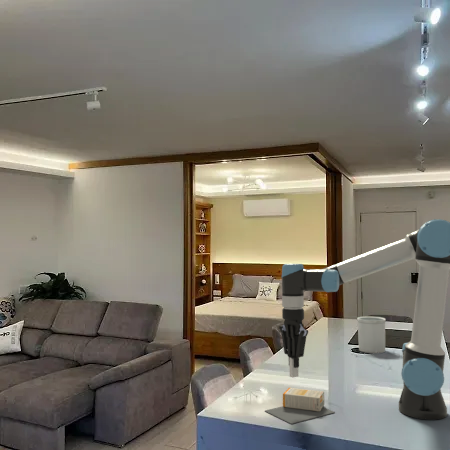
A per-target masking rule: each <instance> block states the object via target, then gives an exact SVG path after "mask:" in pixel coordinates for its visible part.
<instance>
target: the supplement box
mask: <svg viewBox="0 0 450 450" xmlns="http://www.w3.org/2000/svg"><path fill="white" fill-rule="evenodd" d="M282 406H283V407H289V408H297V409H304V410H312V411H321V409H322V407H324V406H325V391H324V390H323V391H321V390H313V389H306V388H305V389H304V388H297V387H295V388H294V387H288V388H286V390H285V391H284V392H283V393H282Z"/></svg>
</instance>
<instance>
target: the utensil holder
mask: <svg viewBox="0 0 450 450" xmlns="http://www.w3.org/2000/svg"><path fill="white" fill-rule="evenodd" d="M356 319H357V332H358V333H357V335H358V336H357V337H358V338H357V339H358V350H359V352H362V353H366V354H367V353H368V354H382V353H385V352H386V318H385V317H381V316H368V315H367V316H359V317H357V318H356Z"/></svg>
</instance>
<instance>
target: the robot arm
mask: <svg viewBox="0 0 450 450" xmlns="http://www.w3.org/2000/svg"><path fill="white" fill-rule="evenodd" d="M411 260H412V261H413V260H414V261H415V262H416V263H417V264H418V266H419V268H418V269H419V270H418V278H417V287H416V294H415V302H414V311H413V321H412V330H411V338H410V341H408V342H404V343H403V344H402V349H401V352H402V368H401V379H402V381H403V388H402V391H401V394H400V397H399V401H398V411H399V412H400V413H402V414H403V415H405V416H408V417H411V418H415V419H421V420H429V421H431V420H433V421H435V420H442V419H445V418H447V416H448V407H447V405H446V402H445V399H444V396H443V393H442V387H443V385H444V383H445V375H444V367H445V360H446V359H445V358H446V352H445V350H444V349H443V348H442V347H441V346H442V345H441V344H442V337H443V327H444V320H445V319H444V318H445V313H446V312H445V311H446V301H447V295H448V294H447V292H448V285H449V278H450V277H449V276H450V221H448V220H445V219H440V218H439V219H438V218H437V219H435V218H434V219H431V220H428V221H426V222H424V223H423V224H422V225H421V226H420V228H419V229H417V230H415V231H412V232H411V233H408V234H406V235H405V237H404V238H403V239H400V240H397V241H395V242H392V243H389V244H387V245H384V246H381V247H378V248H376V249H372V250H370V251H367V252H365V253H362V254H360V255H359V254H358V255H357V256H354V257H352V258H349V259H346V260H344V261H341V262H339V263H336V264H333V265H331V266H330V265H329V266H328V267H324V268H321V269H306V268H305V267H304V264H303V263H284V264H283V265H282V267H281V268H282V269H281V295H282V296H281V306H282V307H283V308H282V309H281V312H282V313H281V314H282V315H281V316H282V319H283V320H284V321H283V324H282V325H280V326H279V328H278V329H279V331H280V334H281V340H282V347H283V352H284V354H285V355H287V357H288V366H289V377H290V378H297V377H299V367H300V358H302V357H304V355H305V350H306V349H305V348H306V342H307V341H306V340H307V337H308V335H309V330H308V329H305V328H304V324H303V320H304V319H305V309H304V306H305V305H304V304H305V301H304V300H305V297H304V292H323V293H325V292H326V293H334V292H335V293H337V292H338V290H339V288H340V286H341V285H344V284H347V283H348V282H352V281H355V280H358V279H361V278H364V277H366V276H369V275H371V274H375V273H378V272H380V271H383V270H386V269H389V268H392V267H394V266H395V267H396V266H398V265H401V264H404V263H406V262H409V261H411Z"/></svg>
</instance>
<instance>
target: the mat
mask: <svg viewBox="0 0 450 450" xmlns="http://www.w3.org/2000/svg"><path fill="white" fill-rule="evenodd" d="M264 412H266V413H267V414H269V415H271V416H274V417H275V418H278V419H279V420H282V421H283V422H286V423H288V424H289V425H294V424H298V423H302V422H306V421H310V420H313V419H318V418H321V417H324V416H329V415H333V414H335V411H333V410H331V409H328V408H326V407H324V406H323V407H322V409H321V411H312V410H304V409H297V408H289V407H283V405H282V406H279V407H278V406H277V407H274V408H269V409H265V410H264Z"/></svg>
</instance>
